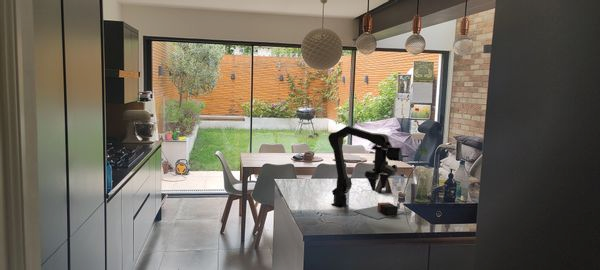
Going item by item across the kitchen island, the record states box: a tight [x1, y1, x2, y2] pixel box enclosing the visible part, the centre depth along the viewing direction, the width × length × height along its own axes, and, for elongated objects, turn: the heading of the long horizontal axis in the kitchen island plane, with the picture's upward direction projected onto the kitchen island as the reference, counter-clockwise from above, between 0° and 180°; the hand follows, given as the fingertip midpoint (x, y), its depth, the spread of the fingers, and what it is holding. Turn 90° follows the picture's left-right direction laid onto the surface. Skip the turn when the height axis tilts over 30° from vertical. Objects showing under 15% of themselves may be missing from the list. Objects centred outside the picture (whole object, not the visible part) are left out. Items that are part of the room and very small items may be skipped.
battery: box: [377, 201, 399, 217], centre depth 218 cm, size 4×7×10 cm
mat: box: [353, 205, 404, 220], centre depth 220 cm, size 16×20×1 cm
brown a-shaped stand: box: [374, 178, 393, 194], centre depth 266 cm, size 9×6×12 cm, turn 100°
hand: (378, 189), depth 219 cm, fingers open, 9 cm apart
